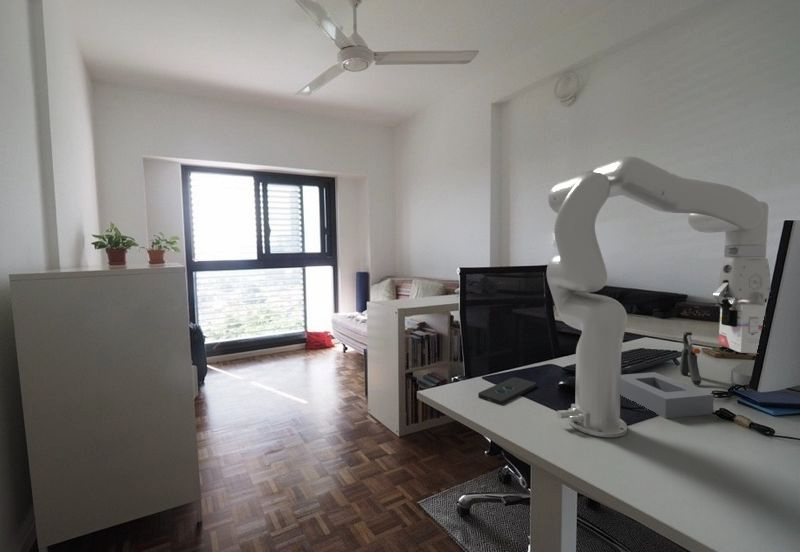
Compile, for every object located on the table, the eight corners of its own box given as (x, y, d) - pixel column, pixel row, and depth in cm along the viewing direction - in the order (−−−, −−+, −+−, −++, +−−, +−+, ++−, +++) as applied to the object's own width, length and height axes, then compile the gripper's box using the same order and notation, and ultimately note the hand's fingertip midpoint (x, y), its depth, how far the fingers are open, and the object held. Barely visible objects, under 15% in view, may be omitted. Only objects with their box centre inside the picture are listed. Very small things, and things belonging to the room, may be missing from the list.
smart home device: (476, 392, 108) (513, 376, 122) (476, 398, 109) (513, 381, 122) (501, 400, 102) (537, 382, 116) (501, 406, 102) (537, 388, 116)
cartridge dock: (665, 418, 93) (665, 399, 92) (613, 391, 111) (613, 375, 110) (712, 413, 95) (713, 394, 95) (654, 388, 113) (654, 372, 112)
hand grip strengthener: (693, 386, 114) (695, 338, 113) (679, 373, 126) (680, 329, 125) (702, 387, 113) (704, 338, 112) (687, 374, 125) (688, 330, 124)
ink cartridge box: (716, 344, 97) (719, 288, 96) (738, 345, 96) (741, 288, 95) (740, 353, 89) (743, 292, 88) (764, 354, 88) (767, 292, 87)
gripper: (730, 253, 86) (726, 329, 87) (791, 252, 89) (787, 326, 90) (699, 253, 93) (696, 323, 95) (757, 252, 96) (753, 320, 97)
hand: (740, 324), depth 92 cm, fingers closed on ink cartridge box, 6 cm apart
